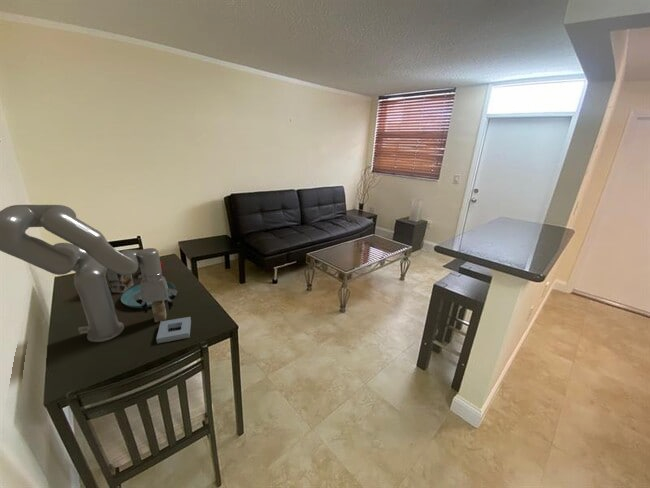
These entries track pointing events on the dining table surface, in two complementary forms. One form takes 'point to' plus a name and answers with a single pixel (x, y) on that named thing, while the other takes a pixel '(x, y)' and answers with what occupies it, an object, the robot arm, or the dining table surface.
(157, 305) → the plug
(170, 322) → the grey square-hole plate
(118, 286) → the coffee box
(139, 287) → the blue plate
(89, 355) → the dining table surface
